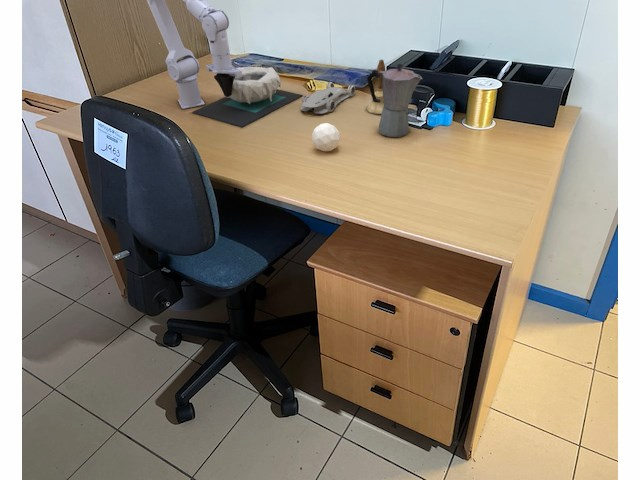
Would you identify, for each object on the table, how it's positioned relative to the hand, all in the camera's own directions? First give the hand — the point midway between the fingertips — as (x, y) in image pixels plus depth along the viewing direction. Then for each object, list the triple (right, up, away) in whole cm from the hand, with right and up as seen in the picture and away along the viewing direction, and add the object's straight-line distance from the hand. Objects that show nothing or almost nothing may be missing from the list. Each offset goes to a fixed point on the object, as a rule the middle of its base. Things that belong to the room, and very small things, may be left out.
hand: (228, 95), depth 159 cm
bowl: (+7, +1, +11) cm, 13 cm away
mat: (+5, -1, +9) cm, 10 cm away
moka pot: (+52, -16, -15) cm, 57 cm away
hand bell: (+50, -5, -1) cm, 50 cm away
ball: (+32, -22, -22) cm, 45 cm away
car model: (+33, -1, +6) cm, 33 cm away
